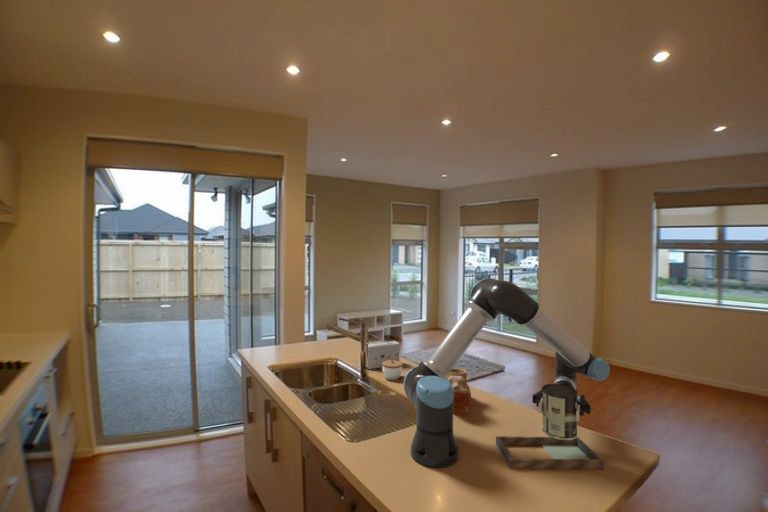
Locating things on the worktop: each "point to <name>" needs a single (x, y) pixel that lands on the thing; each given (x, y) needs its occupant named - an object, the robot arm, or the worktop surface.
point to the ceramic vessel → (460, 391)
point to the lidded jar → (392, 369)
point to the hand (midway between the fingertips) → (558, 412)
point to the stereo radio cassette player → (382, 353)
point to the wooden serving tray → (590, 463)
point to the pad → (564, 452)
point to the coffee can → (559, 411)
